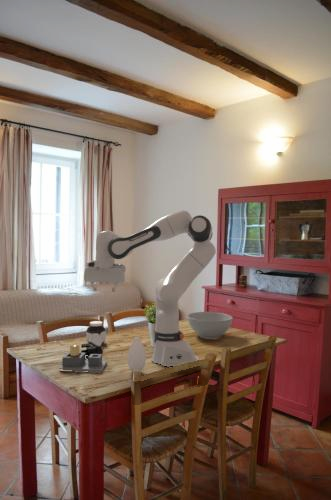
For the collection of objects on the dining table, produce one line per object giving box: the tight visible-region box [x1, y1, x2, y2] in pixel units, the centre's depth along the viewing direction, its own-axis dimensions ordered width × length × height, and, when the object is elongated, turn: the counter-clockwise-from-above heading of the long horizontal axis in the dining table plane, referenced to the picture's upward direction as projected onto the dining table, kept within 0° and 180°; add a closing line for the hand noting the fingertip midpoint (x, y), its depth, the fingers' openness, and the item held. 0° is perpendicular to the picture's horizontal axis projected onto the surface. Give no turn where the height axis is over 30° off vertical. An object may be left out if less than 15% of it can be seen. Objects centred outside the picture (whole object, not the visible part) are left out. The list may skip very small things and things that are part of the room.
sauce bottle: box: [127, 331, 147, 372], centre depth 167 cm, size 8×8×18 cm
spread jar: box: [85, 320, 107, 347], centre depth 208 cm, size 12×11×12 cm
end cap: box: [80, 342, 104, 359], centre depth 186 cm, size 10×7×7 cm
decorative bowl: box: [186, 311, 234, 340], centre depth 230 cm, size 27×27×12 cm
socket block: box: [59, 351, 108, 373], centre depth 173 cm, size 18×12×6 cm, turn 87°
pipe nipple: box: [69, 344, 81, 357], centre depth 173 cm, size 4×4×8 cm
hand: (104, 291), depth 193 cm, fingers open, 8 cm apart
